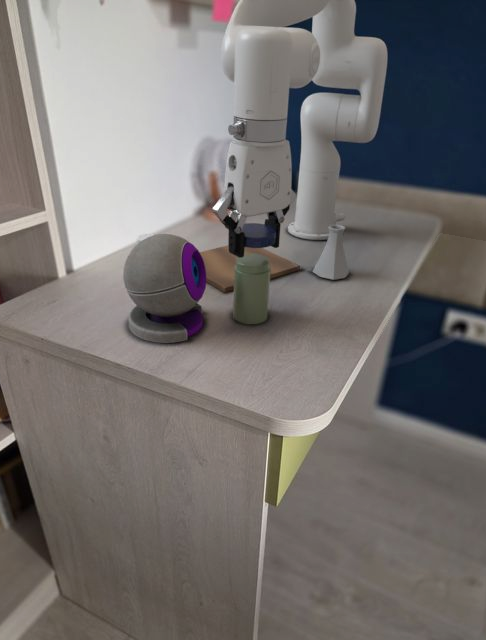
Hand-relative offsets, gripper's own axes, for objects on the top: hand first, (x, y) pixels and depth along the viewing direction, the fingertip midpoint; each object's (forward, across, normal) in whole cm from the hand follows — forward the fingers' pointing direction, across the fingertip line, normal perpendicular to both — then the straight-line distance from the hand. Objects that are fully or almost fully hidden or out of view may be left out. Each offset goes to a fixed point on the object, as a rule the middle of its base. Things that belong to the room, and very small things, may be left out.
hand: (254, 249), depth 80 cm
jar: (+12, 0, 0) cm, 12 cm away
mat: (+12, +12, +19) cm, 25 cm away
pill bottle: (+12, -8, +20) cm, 25 cm away
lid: (-3, 0, 0) cm, 3 cm away
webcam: (+12, -14, +6) cm, 19 cm away
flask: (+13, +26, +5) cm, 29 cm away
